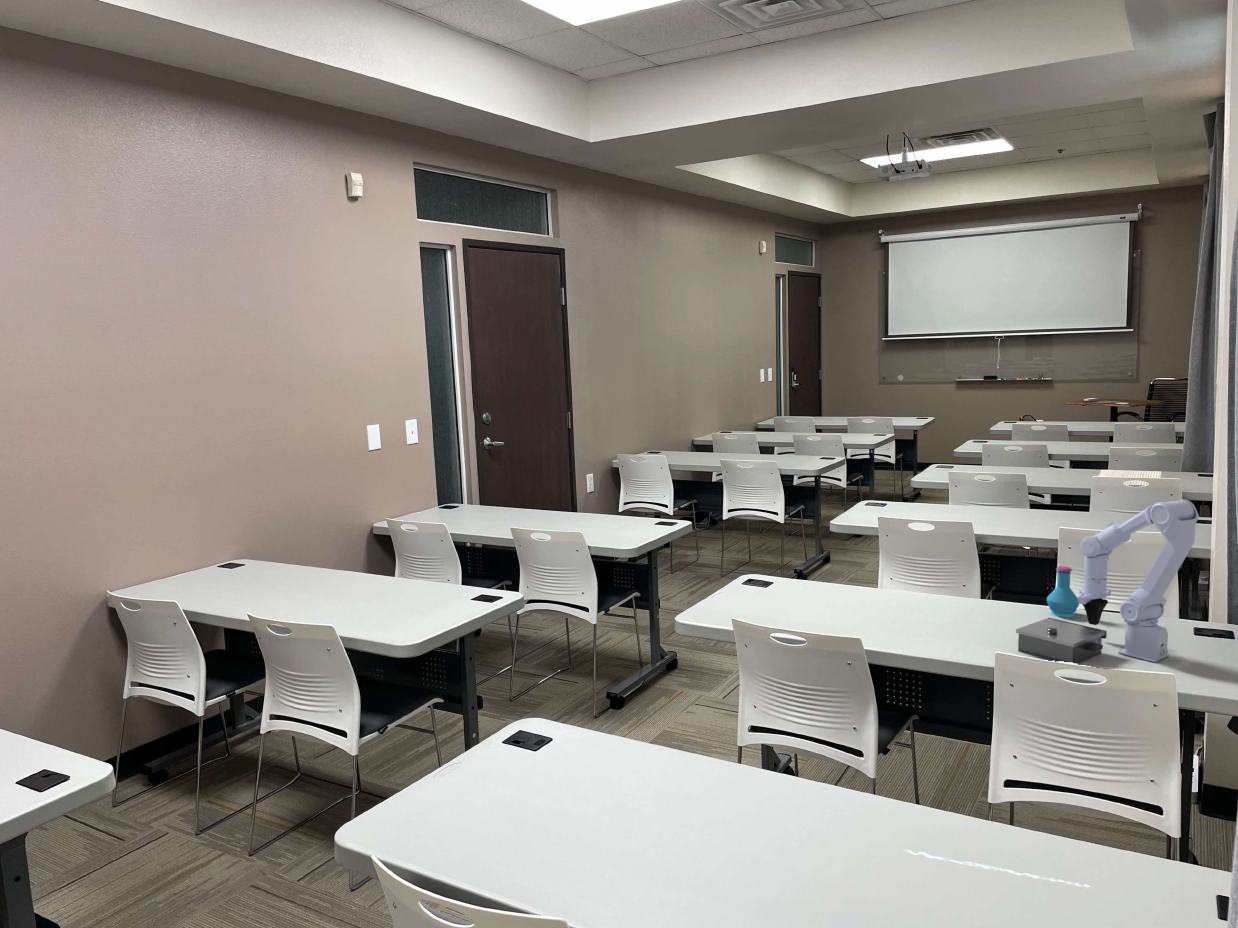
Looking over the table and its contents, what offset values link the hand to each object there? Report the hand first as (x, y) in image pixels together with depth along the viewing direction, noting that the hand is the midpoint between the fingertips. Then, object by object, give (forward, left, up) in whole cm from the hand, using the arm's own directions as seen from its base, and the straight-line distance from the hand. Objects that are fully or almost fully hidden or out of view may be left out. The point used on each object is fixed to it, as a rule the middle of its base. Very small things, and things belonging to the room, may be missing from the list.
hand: (1093, 623), depth 246 cm
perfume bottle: (+18, -17, -5) cm, 25 cm away
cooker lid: (0, +17, 0) cm, 17 cm away
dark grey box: (0, +18, -4) cm, 19 cm away
